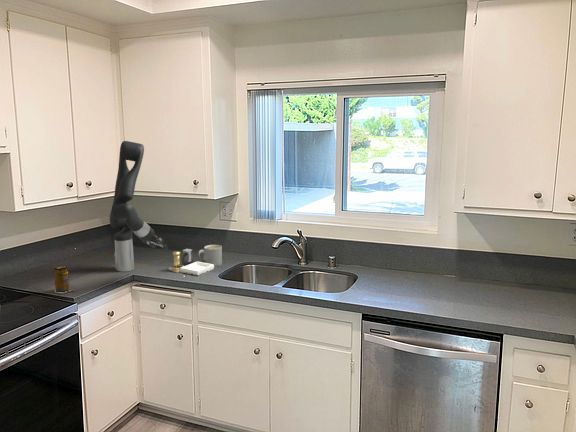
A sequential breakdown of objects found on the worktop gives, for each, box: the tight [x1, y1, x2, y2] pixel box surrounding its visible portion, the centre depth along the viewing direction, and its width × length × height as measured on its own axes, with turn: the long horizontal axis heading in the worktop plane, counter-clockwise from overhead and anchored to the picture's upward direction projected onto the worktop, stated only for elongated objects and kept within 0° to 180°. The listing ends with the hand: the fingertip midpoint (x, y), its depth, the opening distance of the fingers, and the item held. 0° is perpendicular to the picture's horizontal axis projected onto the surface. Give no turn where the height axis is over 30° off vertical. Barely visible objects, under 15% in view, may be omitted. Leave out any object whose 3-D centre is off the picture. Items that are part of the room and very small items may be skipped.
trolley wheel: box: [181, 248, 194, 266], centre depth 261 cm, size 4×7×10 cm, turn 151°
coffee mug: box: [197, 244, 223, 267], centre depth 266 cm, size 13×10×10 cm
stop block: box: [169, 264, 184, 273], centre depth 254 cm, size 6×6×2 cm
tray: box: [179, 260, 215, 276], centre depth 254 cm, size 12×14×2 cm
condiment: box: [53, 265, 70, 292], centre depth 221 cm, size 7×8×12 cm
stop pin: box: [172, 250, 181, 268], centre depth 254 cm, size 4×4×10 cm
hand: (160, 247), depth 241 cm, fingers open, 8 cm apart
